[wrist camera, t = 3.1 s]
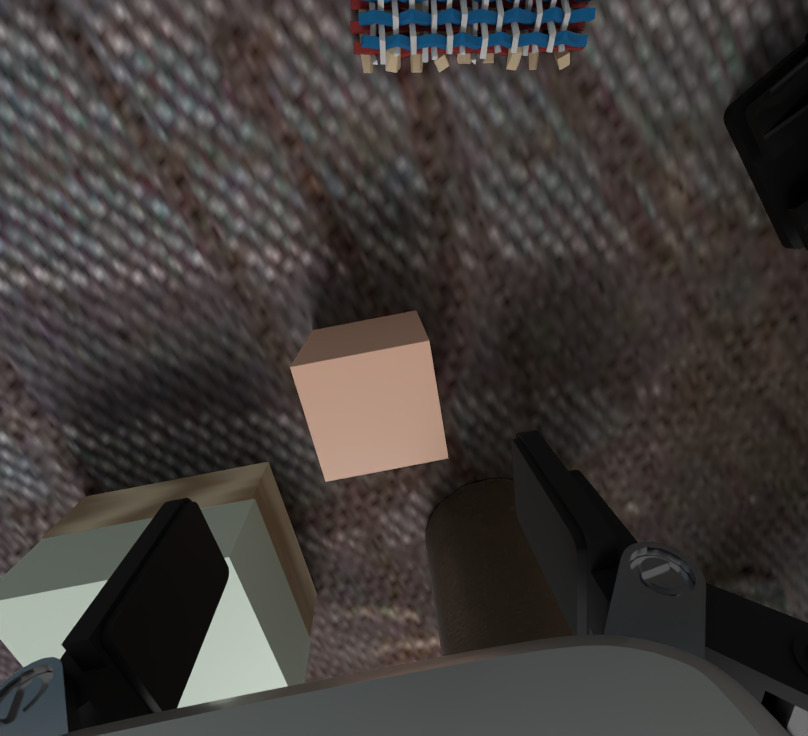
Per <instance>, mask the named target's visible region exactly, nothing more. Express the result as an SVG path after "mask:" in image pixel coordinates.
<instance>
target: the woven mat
mask: <svg viewBox="0 0 808 736" xmlns="http://www.w3.org/2000/svg"><path fill="white" fill-rule="evenodd" d="M350 1H351V10H358V12H359V14H358V17H359V21H354V22H350V26H351V32H352V33H353V34H354V35H355V34H360V43H353V46H354V54H361V59H362V65H363V71H364V73H373V64H375V65H378V64H377V60H376V55H377V56H380V60H381V64H386V71H389V72H394V73H397V72H398V70H399V69H400V67H401V58H404V57H407V56H410V59H411V72H414V73H416V72H422V68H423V62H426V63H427V62H428V54H432V60H433V61H434V63H435V65H436V67H437V69H438V71H439V73H440V72H441V71H443V70H444V69H445V68H447V67H448V66H449V59H448V54H457V62H458V64H471V61H472V62H473V63H474V64H475V63H476V54H477V53H481V54H480V59H483V63H494V54H498V55H502V56H508V59H507V67H506V69H509V70H516V69H517V67H518V66H519V63H520V59H521V55H523V56H528V53H529V70H536V69H537V63H538V56H539V52H551V53H552V52H553V51H554V56H555V60H556V62H557V65H558V68H559V70H561V69H563V68H565V67H566V66H568V65H570V51H577V50H582V49H583V48H584V47H585V46H586V44H587V36H588V35H580V34H577V33H574V32H570V30H580V31H583V28H584V21H591V20H593V19H595V8H584V7H585V6H586V5H587V4H588V2H590V1H591V0H350ZM478 7H481V9H478ZM503 7H508V8H507V11H505V12H504V9H503ZM522 7H525V10H524V9H521V8H522ZM545 8H549V9H546V10H545ZM572 8H582V9H576V10H572ZM455 9H458V11H457V10H455ZM531 9H532V10H531ZM496 10H497V11H498V12H496ZM398 11H400V12H401V13H398ZM429 12H431V14H429ZM501 30H506V33H504V32H502V31H501ZM521 30H522V31H521ZM528 30H530V33H529V31H528ZM543 30H548V33H549V35H547V34H543V33H542V31H543ZM399 32H410V37H407V36H404V35H401V34H399ZM429 32H431V34H429ZM376 33H379V37H377V36H376ZM479 33H482V36H481V37H477V34H479Z"/></svg>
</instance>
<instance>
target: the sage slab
mask: <svg viewBox="0 0 808 736" xmlns="http://www.w3.org/2000/svg"><path fill="white" fill-rule="evenodd" d="M201 511H202V513H203V515H204V517H205V519H206V522H207V524H208V526H209V528H210V530H211V532H212V534H213V536H214V538H215V540H216V542H217V544H218V546H219V548H220V550H221V552H222V554H223V557H224V559H225V561H226V563H227V565H228V567H229V578H228V581H227V584H226V587H225V589H224V592H223V594H222V597H221V599H220V602H219V604H218V607H217V609H216V612H215V614H214V617H213V619H212V622H211V624H210V627H209V629H208V632H207V634H206V637H205V639H204V642H203V644H202V647H201V649H200V652H199V654H198V657H197V659H196V662H195V664H194V667H193V669H192V672H191V675H190V677H189V680H188V682H187V685H186V687H185V690H184V692H183V695H182V697H181V700H180V702H179V705H178V707H177V708H182V707H186V706H191V705H196V704H201V703H206V702H211V701H216V700H221V699H226V698H231V697H236V696H241V695H246V694H251V693H256V692H261V691H266V690H271V689H276V688H281V687H287V686H292V685H297V684H302V683H304V681H305V674H306V668H307V662H308V655H309V649H310V642H311V640H310V637H309V635H308V632H307V630H306V627H305V625H304V622H303V620H302V617H301V615H300V612H299V610H298V607H297V604H296V602H295V599H294V597H293V594H292V592H291V589H290V587H289V584H288V582H287V579H286V577H285V574H284V571H283V569H282V566H281V564H280V561H279V559H278V556H277V554H276V551H275V549H274V546H273V544H272V541H271V538H270V536H269V533H268V531H267V528H266V526H265V523H264V521H263V518H262V516H261V513H260V511H259V508H258V506H257V503H256V500H255V499H251V500H246V501H241V502H235V503H230V504H224V505H219V506H214V507H208V508H203V509H201ZM152 519H153V518H150V519H144V520H139V521H134V522H128V523H123V524H118V525H113V526H107V527H102V528H97V529H91V530H86V531H81V532H76V533H70V534H65V535H60V536H54V537H49V538H44V539H42V540H41V541H40V542H39V543H38V544H37V545H36V546H35V547H34V548H33V549H32V550H31V551H29V552H28V553H27V554H26V555H25V556H24V557H23V558H22V559H21V560H20V561H19V562H18V563H17V564H16V565H15V566H14V567H13V568H12V569H10V570H9V571H8V572H7V573H6V574H5V575H4V576H3V577H2V578H1V579H0V639H1V641H2V642H3V643H4V644H5V645H6V647H7V648H8V649H9V650H10V651H11V653H12V654H13V655H14V656H15V657H16V659H17V660H18V661H19V662H20V663H21V665H22V666H23V667H25V666H27V665H29V664H30V663H32V662H35V661H37V660H40V659H43V658H48V657H55V658H58V659H60V658H61V657H62V656H63V654H64V653H65V651H66V650H65V649H64V647H63V646H62V645H61V644H62V643H63V641H64V640H65V638H66V637H67V636H68V634H69V633H70V632H71V630H72V629H73V627H74V626H75V625H76V623H77V622H78V621H79V619H80V618H81V616H82V615H83V614H84V612H85V611H86V610H87V608H88V607H89V605H90V604H91V603H92V601H93V600H94V599H95V597H96V596H97V594H98V593H99V592H100V590H101V589H102V588H103V586H104V585H105V583H106V582H107V581H108V579H109V578H110V577H111V575H112V574H113V572H114V571H115V570H116V568H117V567H118V566H119V564H120V563H121V561H122V560H123V559H124V557H125V556H126V555H127V553H128V552H129V550H130V549H131V548H132V546H133V545H134V544H135V542H136V541H137V539H138V538H139V537H140V535H141V534H142V533H143V531H144V530H145V528H146V527H147V526H148V524H149V523H150V522H151V520H152Z"/></svg>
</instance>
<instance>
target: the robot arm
mask: <svg viewBox="0 0 808 736" xmlns="http://www.w3.org/2000/svg"><path fill="white" fill-rule="evenodd" d="M511 453H512V465H513V477H514V490H515V502H516V512H517V517H518V520H519V523H520V525H521V527H522V529H523V531H524V533H525V535H526V537H527V540H528V542H529V544H530V546H531V548H532V550H533V552H534V554H535V556H536V558H537V561H538V563H539V565H540V567H541V569H542V571H543V573H544V575H545V577H546V579H547V582H548V584H549V586H550V588H551V590H552V592H553V594H554V596H555V598H556V600H557V603H558V605H559V607H560V609H561V611H562V613H563V615H564V617H565V619H566V621H567V624H568V626H569V628H570V630H571V632H572V634H573V636H564V637H555V638H547V639H539V640H533V641H527V642H521V643H515V644H510V645H504V646H498V647H492V648H486V649H480V650H474V651H469V652H464V653H458V654H453V655H448V656H443V657H437V658H432V659H427V660H421V661H416V662H411V663H406V664H400V665H395V666H390V667H384V668H379V669H374V670H369V671H364V672H358V673H353V674H348V675H343V676H338V677H333V678H327V679H322V680H317V681H312V682H307V683H302V684H297V685H292V686H287V687H281V688H276V689H271V690H266V691H261V692H256V693H251V694H246V695H241V696H236V697H231V698H226V699H221V700H216V701H211V702H206V703H201V704H196V705H191V706H186V707H182V708H177V707H178V705H179V702H180V700H181V697H182V695H183V692H184V690H185V687H186V685H187V682H188V680H189V677H190V675H191V672H192V669H193V667H194V664H195V662H196V659H197V657H198V654H199V652H200V649H201V647H202V644H203V642H204V639H205V637H206V634H207V632H208V629H209V627H210V624H211V622H212V619H213V617H214V614H215V612H216V609H217V607H218V604H219V602H220V599H221V597H222V594H223V592H224V589H225V587H226V584H227V581H228V578H229V567H228V565H227V563H226V561H225V559H224V557H223V554H222V552H221V550H220V548H219V546H218V544H217V542H216V540H215V538H214V536H213V534H212V532H211V530H210V528H209V526H208V524H207V522H206V519H205V517H204V515H203V513H202V511H201V509H200V507H199V505H198V504H197V503H196V502H194V501H193V502H192V500H191V499H189V498H182V499H177V500H171V501H167V502H165V503H164V504H163V505H162V506H161V508H160V509H159V511H158V512H157V513H156V515H155V516H154V517H153V519H152V520H151V522H150V523H149V524H148V526H147V527H146V528H145V530H144V531H143V533H142V534H141V535H140V537H139V538H138V539H137V541H136V542H135V544H134V545H133V546H132V548H131V549H130V550H129V552H128V553H127V555H126V556H125V557H124V559H123V560H122V561H121V563H120V564H119V566H118V567H117V568H116V570H115V571H114V572H113V574H112V575H111V577H110V578H109V579H108V581H107V582H106V583H105V585H104V586H103V588H102V589H101V590H100V592H99V593H98V594H97V596H96V597H95V599H94V600H93V601H92V603H91V604H90V605H89V607H88V608H87V610H86V611H85V612H84V614H83V615H82V616H81V618H80V619H79V621H78V622H77V623H76V625H75V626H74V627H73V629H72V630H71V632H70V633H69V634H68V636H67V637H66V638H65V640H64V641H63V643H62V644H61V645H62V646H63V647H64V649H65V650H66V651H65V653H64V654H63V656H62V657H61V658H60V659H58V658H55V657H48V658H43V659H40V660H37V661H35V662H32V663H30V664H29V665H27V666H25V667H23V668H22V669H20V670H18V671H17V672H16V673H14V674H13V675H12V676H10V677H9V678H8V679H6V680H5V681H4V682H3V683H2V684H1V685H0V736H808V623H807V622H804V621H802V620H799V619H796V618H794V617H791V616H789V615H786V614H784V613H781V612H779V611H776V610H773V609H771V608H768V607H766V606H763V605H761V604H758V603H756V602H753V601H751V600H748V599H745V598H743V597H740V596H738V595H735V594H733V593H730V592H728V591H725V590H722V589H720V588H717V587H715V586H712V585H710V584H707V583H706V582H705V578H704V575H703V573H702V571H701V570H700V568H699V567H698V565H697V564H696V563H695V562H694V561H693V560H691V559H690V558H689V557H688V556H687V555H685V554H684V553H682V552H680V551H679V550H677V549H675V548H673V547H670V546H668V545H665V544H661V543H656V542H637V541H636V540H635V538H634V537H633V536H632V535H631V533H630V532H629V531H628V530H627V528H626V527H625V526H624V525H623V524H622V522H621V521H620V520H619V519H618V517H617V516H616V515H615V514H614V512H613V511H612V510H611V509H610V507H609V506H608V505H607V504H606V503H605V501H604V500H603V499H602V498H601V496H600V495H599V494H598V493H597V491H596V490H595V489H594V488H593V486H592V485H591V484H590V483H589V482H588V480H587V479H586V478H585V477H584V475H583V474H582V473H581V472H580V471H578V470H572V471H568V470H567V469H566V467H565V466H564V465H563V464H562V462H561V461H560V460H559V458H558V457H557V456H556V454H555V453H554V452H553V450H552V449H551V448H550V447H549V445H548V444H547V443H546V441H545V440H544V439H543V437H542V436H541V435H540V433H539V432H538V431H537V430H534V431H529V432H523V433H518V434H517V436H516V439H514V440H511Z"/></svg>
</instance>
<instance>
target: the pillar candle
mask: <svg viewBox="0 0 808 736" xmlns="http://www.w3.org/2000/svg"><path fill="white" fill-rule="evenodd" d="M426 549H427V556H428V562H429V568H430V576H431V583H432V590H433V596H434V603H435V609H436V617H437V624H438V631H439V638H440V645H441V652H442V657H443V656H448V655H453V654H458V653H464V652H469V651H474V650H480V649H486V648H492V647H498V646H504V645H510V644H515V643H521V642H527V641H533V640H539V639H547V638H555V637H564V636H573V634H572V632H571V630H570V628H569V626H568V624H567V621H566V619H565V617H564V615H563V613H562V611H561V609H560V607H559V605H558V603H557V600H556V598H555V596H554V594H553V592H552V590H551V588H550V586H549V584H548V582H547V579H546V577H545V575H544V573H543V571H542V569H541V567H540V565H539V563H538V561H537V558H536V556H535V554H534V552H533V550H532V548H531V546H530V544H529V542H528V540H527V537H526V535H525V533H524V531H523V529H522V527H521V525H520V523H519V520H518V517H517V512H516V502H515V490H514V480H513V479H510V480H508V479H489V480H486V481H481V482H475V483H471V484H469V485H466V486H463V487H461V488H460V489H458V490H457V491H455V492H454V493H452V494H451V495H450V496H449V497H447V498H446V499H444V500H443V501H442V502H441V503H440V504H439V506H438V507H437V508H436V509H435V511H434V512H433V514H432V516H431V517H430V520H429V522H428V525H427V529H426Z"/></svg>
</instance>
